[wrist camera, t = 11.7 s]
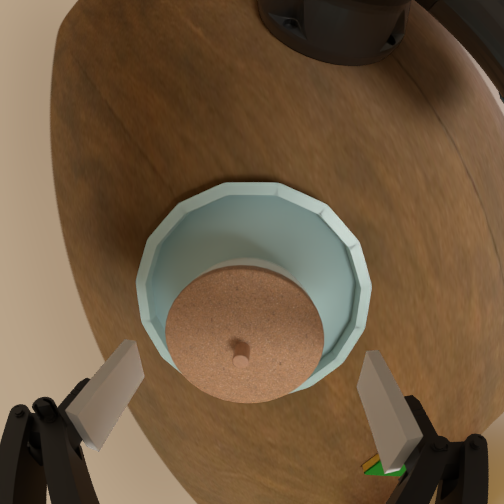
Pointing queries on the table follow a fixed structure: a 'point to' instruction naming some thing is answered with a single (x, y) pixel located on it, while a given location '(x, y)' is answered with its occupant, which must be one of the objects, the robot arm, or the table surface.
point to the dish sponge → (379, 468)
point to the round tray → (263, 247)
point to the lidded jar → (245, 331)
